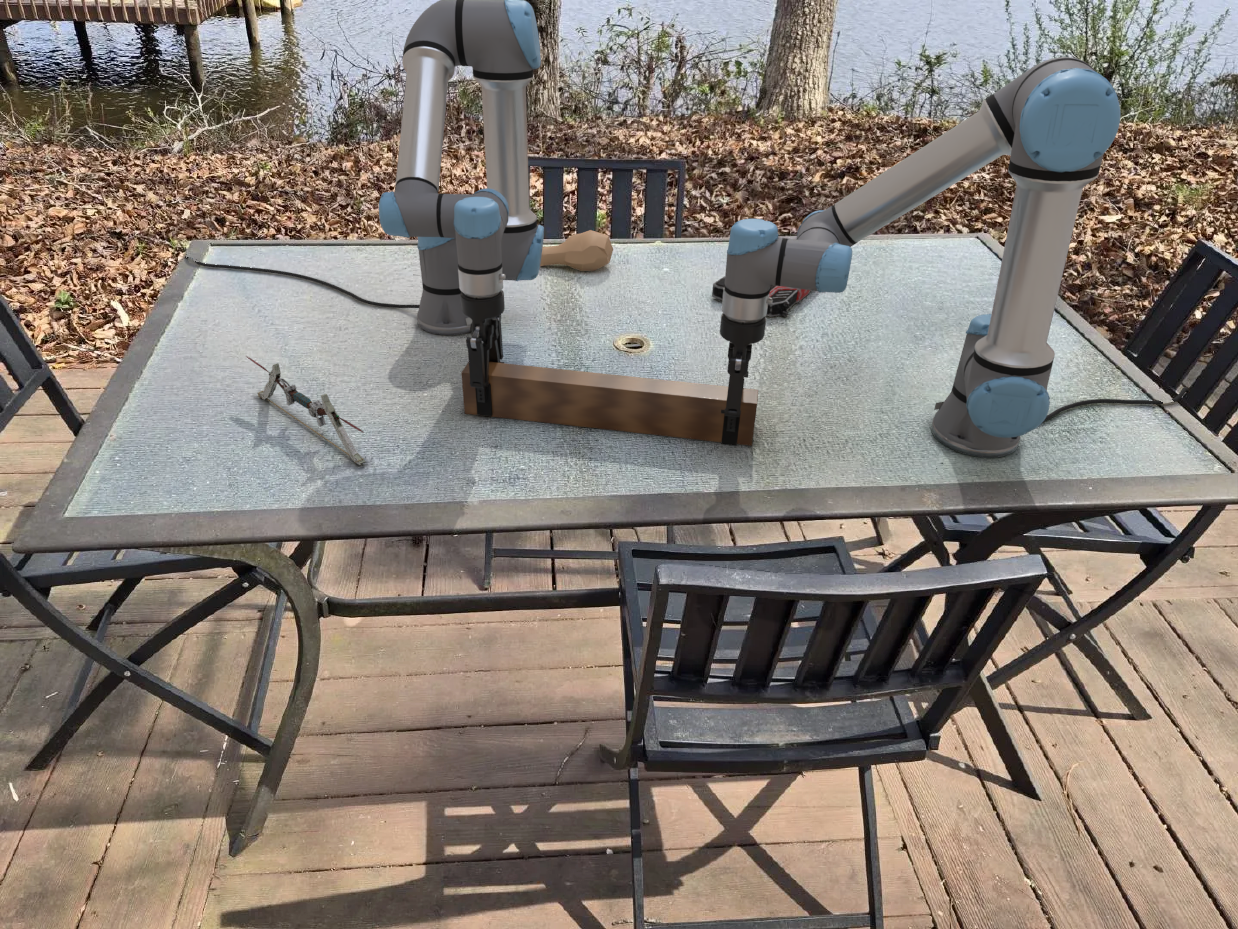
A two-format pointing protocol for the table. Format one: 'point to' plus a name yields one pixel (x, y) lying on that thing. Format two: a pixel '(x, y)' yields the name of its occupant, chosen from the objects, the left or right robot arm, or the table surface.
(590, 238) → the squash
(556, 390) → the beam
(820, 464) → the table surface
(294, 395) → the bow
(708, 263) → the table surface
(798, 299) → the gun
